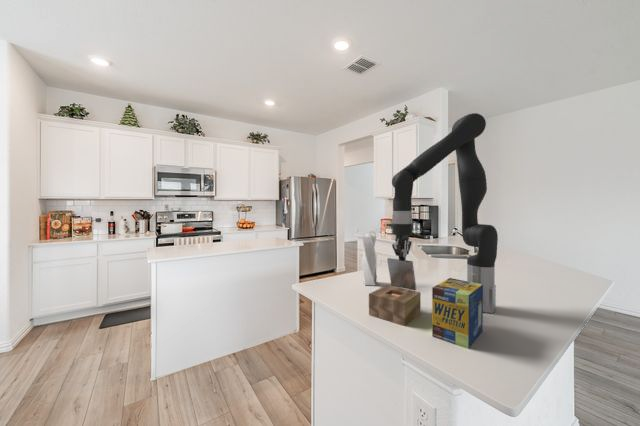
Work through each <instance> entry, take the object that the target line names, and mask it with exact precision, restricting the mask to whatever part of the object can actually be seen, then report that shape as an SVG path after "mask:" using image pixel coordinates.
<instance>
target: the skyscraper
mask: <svg viewBox="0 0 640 426" xmlns="http://www.w3.org/2000/svg"><path fill="white" fill-rule="evenodd" d="M372 233H373V234H374V235H373V234H372ZM361 239H362V242H363V243H362V244H363V254H362V269H363V271H362V272H363V277H364V280H363V284H364V286H365V287H379V286H380V284H379V283H378V280H377V278H378V277H377V276H378V275H377V256H376V249H375V246H376V241H377V234H376V232H374V231H369V233H362V235H361Z"/></svg>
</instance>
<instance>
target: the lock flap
mask: <svg viewBox="0 0 640 426" xmlns="http://www.w3.org/2000/svg"><path fill="white" fill-rule="evenodd" d="M386 260H387V266H388V272H389V278H390V284H391V285H390V286H393V287H397V288H402V289H407V290H412V291H416V292H417V282H416V276H415V269H414V268H415V267H414V263H413V262H414V261H413V260H407V259H406V260H400V259H399V258H391V257H388V258H387V259H386Z"/></svg>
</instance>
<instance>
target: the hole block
mask: <svg viewBox="0 0 640 426" xmlns="http://www.w3.org/2000/svg"><path fill="white" fill-rule="evenodd" d="M391 294H397V295H400V296H399V297H398V296H394V295H391ZM421 301H422V300H421V292H420V291H417V290H416V291H415V290H411V289H406V288H401V287H396V286H391V285H384V286H382V287H380V288H377V289H375V290H373V291H371V292H368V315H369V316H370V317H374V318H377V319H380V320H384V321H387V322H391V323H394V324H398V325H400V326H403V327H405V326H407V325H408V324H410V322H411V321H413V320H414V319H415V318H417V317H418V316H419V315H420V314H421Z"/></svg>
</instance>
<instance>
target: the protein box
mask: <svg viewBox="0 0 640 426" xmlns="http://www.w3.org/2000/svg"><path fill="white" fill-rule="evenodd" d="M431 294H432V295H431V296H432V297H431V299H432V300H431V302H432V303H431V313H432V314H431V315H432V317H431V320H432V322H431V323H432V324H431V325H432V326H431V327H432V329H431V332H432V333H431V334H432V337H433V338H436V339H439V340H442V341H445V342H449V343H452V344H454V345H456V346H460V347H462V348H466V349H469V348H470V347H471V346H472V344H473V343H474V342H475V341H476V340H477V338H478V337H479V336H480V334H482V332H483V327H484V326H483V323H484V321H483V319H484V314H483V313H484V312H483V284H479V283H473V282H468V281H467V280H462V279H456V278H452V277H449V278H447V279H446V280H444V281H442V282H440V283H438V284H436V285H434V286H433V287H432V289H431Z"/></svg>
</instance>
